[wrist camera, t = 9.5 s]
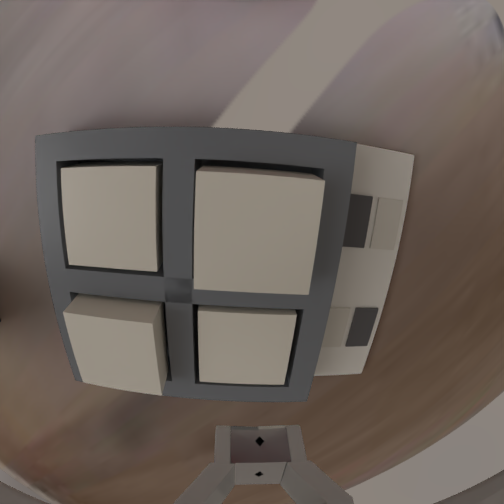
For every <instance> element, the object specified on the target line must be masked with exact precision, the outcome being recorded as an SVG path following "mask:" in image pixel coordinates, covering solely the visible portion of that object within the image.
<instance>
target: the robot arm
mask: <svg viewBox="0 0 504 504" xmlns="http://www.w3.org/2000/svg"><path fill="white" fill-rule="evenodd" d="M238 484H280V485H281V486H282V487H283V488H284V490H285V491H286V492H287V493H288V494H289V496H290V497H291V498H292V499H293V500H294V501H295V503H296V504H354V503H353V499H352V497H351V496H350V495H349V494H348V493H346V492H345V491H344V490H343V489H342V488H341V487H340V486H339V485H337V484H336V483H335V482H334V481H333V480H332V479H331V478H329V477H328V476H327V475H326V474H325V473H324V472H323V471H322V470H321V469H320V468H318V467H317V466H316V465H315V464H314V463H313V462H312V461H307V458H306V453H305V447H304V442H303V437H302V432H301V427H300V426H299V425H289V426H285V425H282V426H258V427H241V426H231V429H230V426H216V433H215V455H214V463H209V465H208V466H207V467H206V468H205V469H204V470H203V471H202V472H201V474H200V475H199V476H198V477H197V478H196V479H195V480H194V481H193V482H192V484H191V485H190V486H189V487H188V488H187V489H186V490H185V491H184V492H183V493H182V494H181V495H180V497H179V498H178V499H177V500H176V501H175V502H174V503H173V504H222V502H223V501H224V500H225V498H226V497H227V495H228V494H229V493H230V491H231V490H232V488H233V487H234V485H238ZM0 504H49V503H46V502H43V501H41V500H39V499H36V498H34V497H32V496H30V495H27V494H25V493H23V492H21V491H19V490H16V489H15V488H13V487H10V486H8V485H6V484H4V483H3V482H1V481H0ZM434 504H504V470H503V471H501V472H499V473H497V474H496V475H494V476H492V477H490V478H488V479H487V480H485V481H483V482H481V483H479V484H477V485H475V486H473V487H471V488H469V489H467V490H464V491H462V492H460V493H458V494H456V495H453V496H451V497H449V498H446V499H444V500H442V501H439V502H437V503H434Z"/></svg>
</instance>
